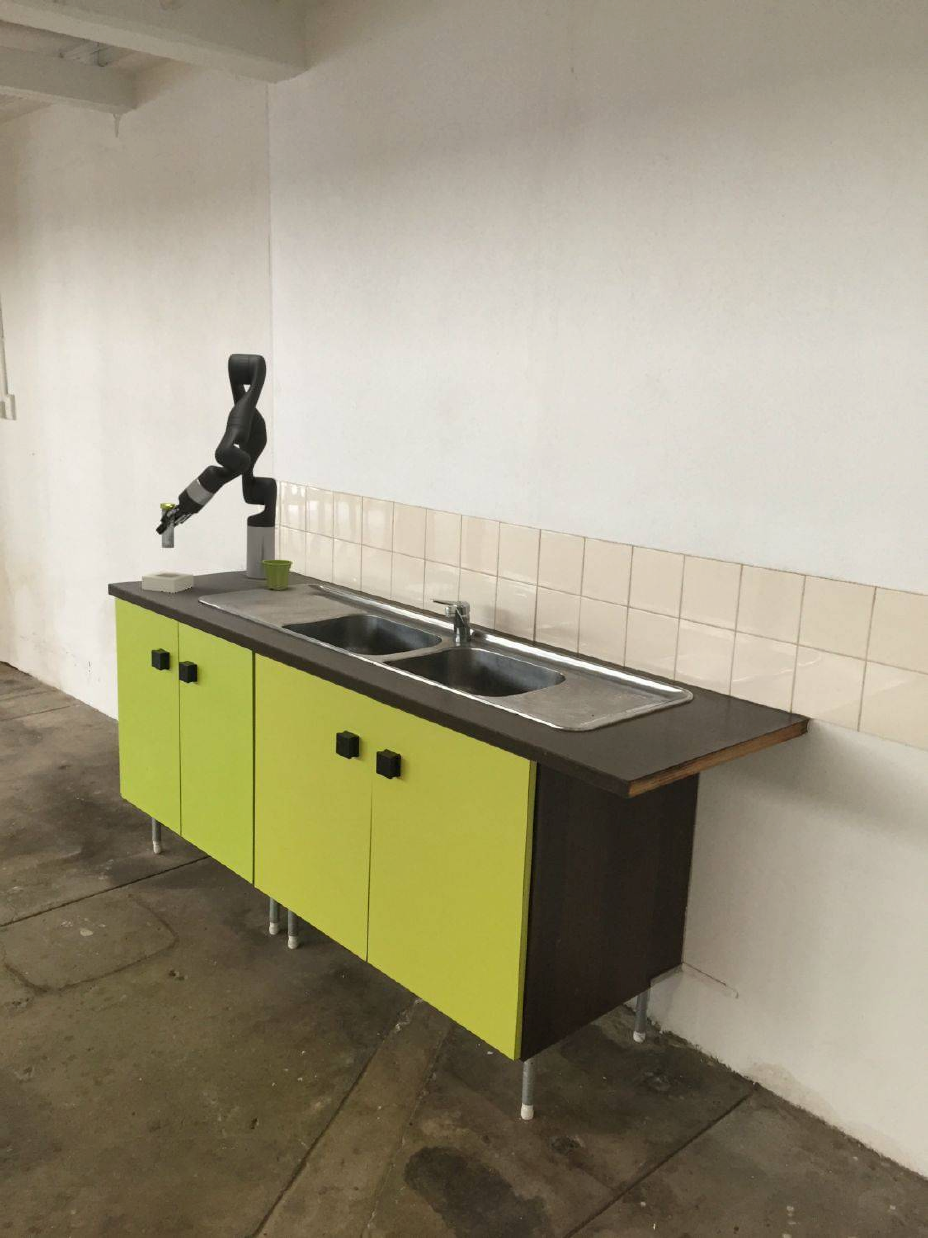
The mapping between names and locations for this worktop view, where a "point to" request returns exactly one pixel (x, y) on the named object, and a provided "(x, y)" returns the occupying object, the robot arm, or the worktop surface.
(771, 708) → the worktop surface
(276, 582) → the plant pot
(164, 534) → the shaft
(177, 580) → the white square base
